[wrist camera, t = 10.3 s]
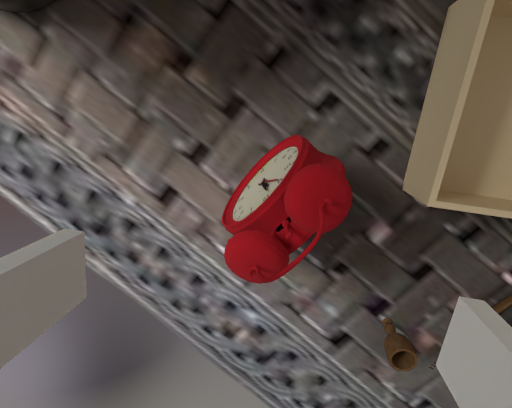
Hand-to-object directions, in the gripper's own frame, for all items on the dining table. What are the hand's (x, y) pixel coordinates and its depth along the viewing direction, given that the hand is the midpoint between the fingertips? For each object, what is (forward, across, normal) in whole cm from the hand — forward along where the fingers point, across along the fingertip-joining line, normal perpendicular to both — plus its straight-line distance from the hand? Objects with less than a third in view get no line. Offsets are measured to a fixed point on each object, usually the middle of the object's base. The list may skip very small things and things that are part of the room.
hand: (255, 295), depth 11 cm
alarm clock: (+20, 0, 0) cm, 20 cm away
